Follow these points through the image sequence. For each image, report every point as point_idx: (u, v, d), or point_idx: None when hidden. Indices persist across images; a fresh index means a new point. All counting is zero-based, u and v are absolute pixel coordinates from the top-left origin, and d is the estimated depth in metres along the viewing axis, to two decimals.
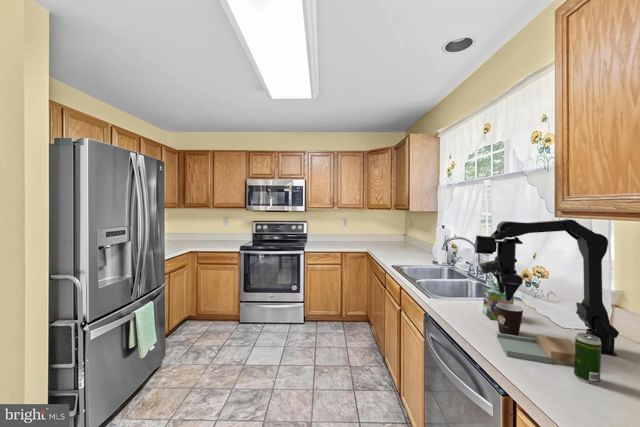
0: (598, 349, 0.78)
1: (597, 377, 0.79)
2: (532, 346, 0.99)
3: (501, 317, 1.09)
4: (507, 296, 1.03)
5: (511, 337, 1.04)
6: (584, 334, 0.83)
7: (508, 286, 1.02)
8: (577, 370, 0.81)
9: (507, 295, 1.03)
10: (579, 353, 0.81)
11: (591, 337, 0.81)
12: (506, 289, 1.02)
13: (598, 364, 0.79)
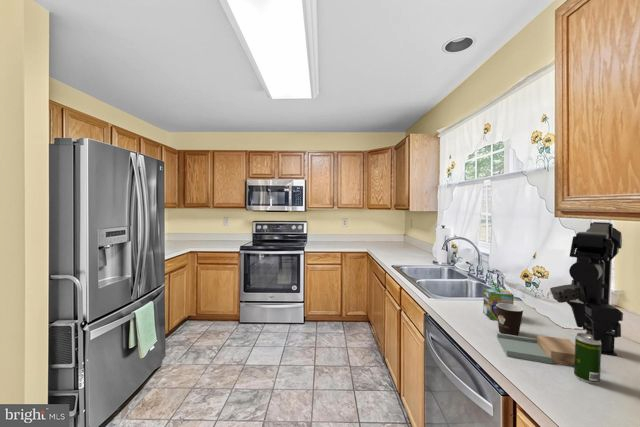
0: (598, 349, 0.78)
1: (597, 377, 0.79)
2: (532, 346, 0.99)
3: (501, 317, 1.09)
4: (596, 335, 0.76)
5: (511, 337, 1.04)
6: (584, 334, 0.83)
7: (598, 321, 0.76)
8: (577, 370, 0.81)
9: (596, 333, 0.76)
10: (579, 353, 0.81)
11: (591, 337, 0.81)
12: (595, 325, 0.76)
13: (598, 364, 0.79)
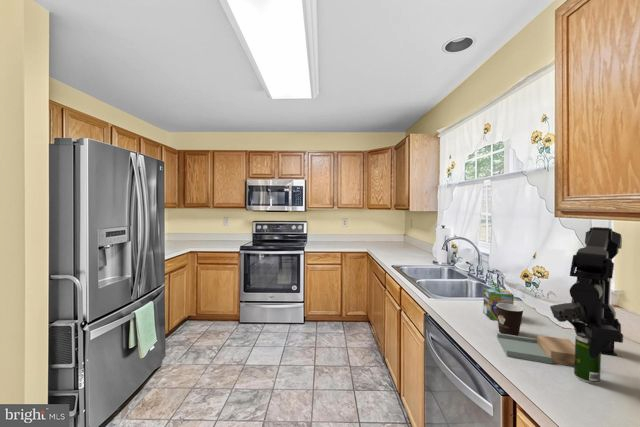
0: None
1: (597, 377, 0.79)
2: (532, 346, 0.99)
3: (501, 317, 1.09)
4: (593, 352, 0.78)
5: (511, 337, 1.04)
6: None
7: (595, 339, 0.77)
8: (577, 370, 0.81)
9: (593, 351, 0.78)
10: (579, 353, 0.81)
11: None
12: (592, 343, 0.77)
13: (598, 364, 0.79)
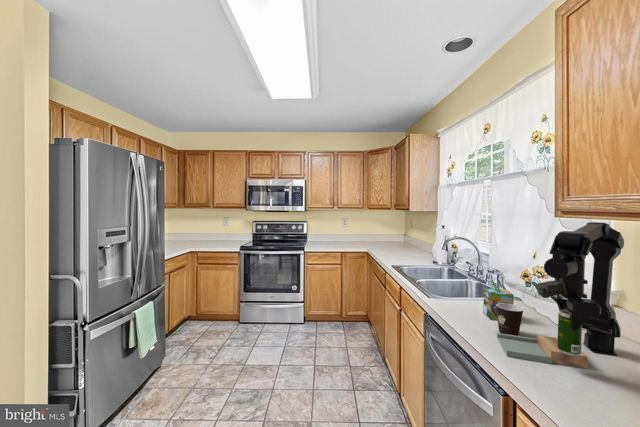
0: None
1: (578, 349, 0.84)
2: (532, 346, 0.99)
3: (501, 317, 1.09)
4: (574, 325, 0.83)
5: (511, 337, 1.04)
6: (566, 310, 0.88)
7: (576, 313, 0.82)
8: (560, 344, 0.86)
9: (574, 324, 0.83)
10: (562, 327, 0.86)
11: None
12: (573, 317, 0.82)
13: (579, 337, 0.84)
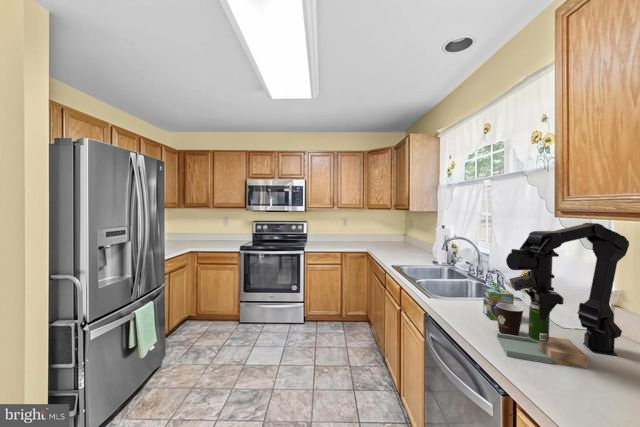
0: None
1: (546, 337, 0.93)
2: (532, 346, 0.99)
3: (501, 317, 1.09)
4: (542, 315, 0.93)
5: (511, 337, 1.04)
6: None
7: (543, 304, 0.92)
8: (530, 332, 0.96)
9: (542, 314, 0.92)
10: (532, 318, 0.95)
11: None
12: (541, 307, 0.92)
13: (547, 326, 0.93)
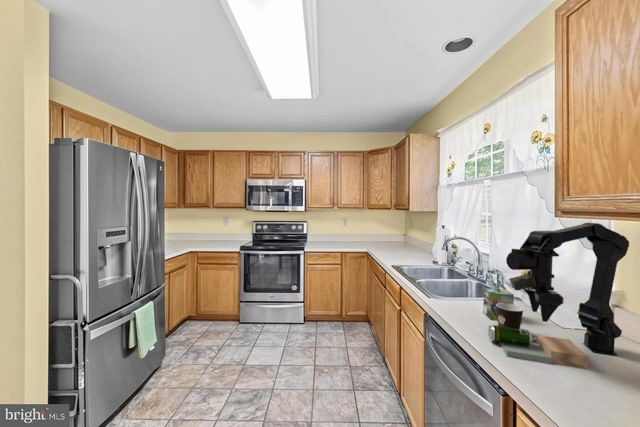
0: (497, 326, 1.02)
1: (523, 329, 0.99)
2: (532, 346, 0.99)
3: (501, 317, 1.09)
4: (544, 316, 0.91)
5: None
6: (489, 335, 1.04)
7: (545, 305, 0.90)
8: (524, 342, 0.97)
9: (544, 315, 0.91)
10: (506, 338, 0.99)
11: (489, 330, 1.04)
12: (543, 309, 0.90)
13: (511, 328, 1.01)
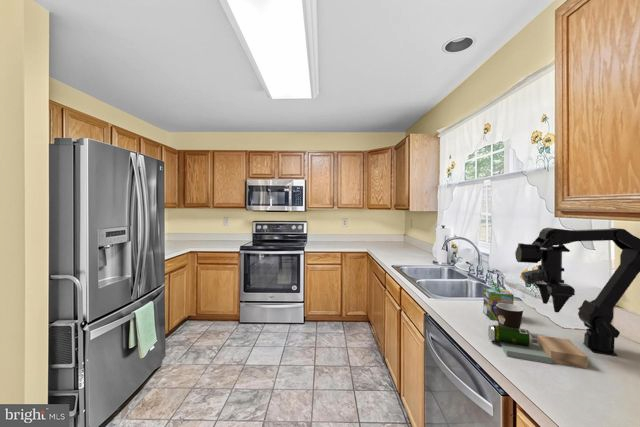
0: (497, 326, 1.02)
1: (522, 329, 1.00)
2: (532, 346, 0.99)
3: (501, 317, 1.09)
4: (556, 308, 0.97)
5: None
6: (489, 335, 1.04)
7: (557, 297, 0.97)
8: (523, 341, 0.98)
9: (556, 306, 0.97)
10: (506, 338, 0.99)
11: (489, 330, 1.04)
12: (555, 300, 0.97)
13: (510, 327, 1.01)
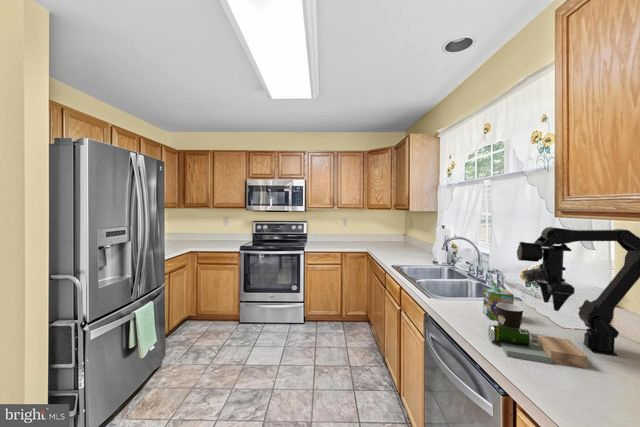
0: (497, 326, 1.02)
1: (522, 329, 1.00)
2: (532, 346, 0.99)
3: (501, 317, 1.09)
4: (556, 306, 0.98)
5: None
6: (489, 335, 1.04)
7: (557, 295, 0.97)
8: (523, 341, 0.97)
9: (556, 305, 0.98)
10: (506, 338, 0.99)
11: (489, 330, 1.04)
12: (555, 299, 0.97)
13: (510, 327, 1.01)
